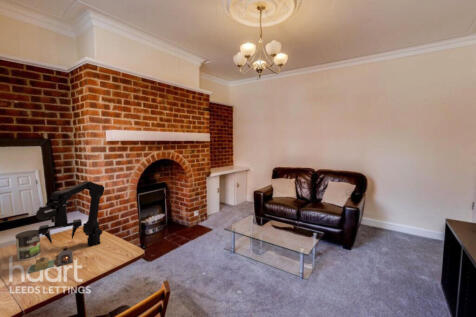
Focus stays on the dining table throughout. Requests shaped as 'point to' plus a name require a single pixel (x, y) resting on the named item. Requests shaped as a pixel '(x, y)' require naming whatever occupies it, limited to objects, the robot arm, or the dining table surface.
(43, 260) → the tan rectangular block
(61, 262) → the body
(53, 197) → the robot arm
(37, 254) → the coffee can
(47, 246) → the dining table surface
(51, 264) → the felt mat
